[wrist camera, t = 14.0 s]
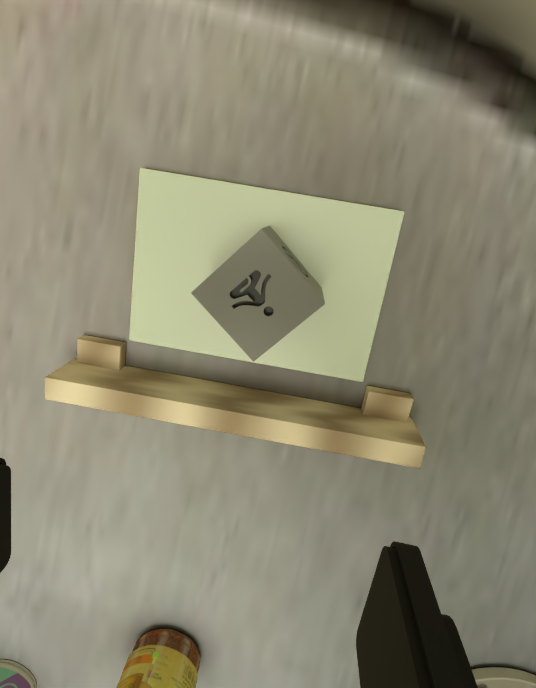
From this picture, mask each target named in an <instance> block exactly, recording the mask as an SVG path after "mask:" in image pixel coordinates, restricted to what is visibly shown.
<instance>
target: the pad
mask: <svg viewBox="0 0 536 688" xmlns="http://www.w3.org/2000/svg"><path fill="white" fill-rule="evenodd" d="M403 216H404V211H398V210H392V209H386V208H380V207H374V206H368V205H362V204H356V203H350V202H344V201H338V200H332V199H326V198H320V197H314V196H308V195H302V194H296V193H290V192H284V191H278V190H272V189H265V188H259V187H253V186H247V185H241V184H235V183H229V182H223V181H217V180H211V179H205V178H199V177H193V176H187V175H181V174H175V173H169V172H163V171H157V170H151V169H145V168H140V174H139V190H138V206H137V222H136V239H135V255H134V271H133V287H132V304H131V320H130V336H129V340H131V341H137V342H142V343H148V344H153V345H159V346H165V347H170V348H176V349H181V350H187V351H192V352H198V353H204V354H209V355H215V356H220V357H226V358H231V359H237V360H243V361H248V362H253V361H252V360H251V359H250V357H249V356H248V355H247V354H246V353H245V352H244V351H243V350H242V349H241V348H240V346H239V345H238V344H237V343H236V342H235V341H234V340H233V339H232V338H231V337H230V335H229V334H228V333H227V332H226V331H225V330H224V329H223V328H222V327H221V326H220V324H219V323H218V322H217V321H216V320H215V319H214V318H213V317H212V316H211V315H210V313H209V312H208V311H207V310H206V309H205V308H204V307H203V306H202V305H201V303H200V302H199V301H198V300H197V299H196V298H195V297H194V296H193V295H192V294H191V292H192V291H193V290H195V289H196V288H197V287H198V286H199V285H200V284H201V283H202V282H203V281H204V280H205V279H207V278H208V277H209V276H210V275H211V274H212V273H213V272H214V271H215V270H216V269H218V268H219V267H220V266H221V265H222V264H223V263H224V262H225V261H226V260H227V259H229V258H230V257H231V256H232V255H233V254H234V253H235V252H236V251H237V250H238V249H240V248H241V247H242V246H243V245H244V244H245V243H246V242H247V241H248V240H249V239H251V238H252V237H253V236H254V235H255V234H256V233H257V232H258V231H259V230H260V229H262V228H264V227H267V226H269V225H270V226H271V228H272V229H273V230H274V231H275V232H276V234H277V235H278V236H279V237H280V238H281V240H282V241H283V242H284V243H285V244H286V245H287V247H288V248H289V249H290V250H291V251H292V253H293V254H294V255H295V256H296V257H297V259H298V260H299V261H300V262H301V263H302V265H303V266H304V267H305V268H306V269H307V271H308V272H309V273H310V274H311V275H312V277H313V278H314V279H315V280H316V281H317V282H318V284H319V285H320V286H321V287H322V291H323V296H324V301H325V304H324V305H323V306H322V307H321V308H319V309H318V310H317V311H316V312H314V313H313V314H312V315H311V316H310V317H308V318H307V319H306V320H305V321H303V322H302V323H301V324H300V325H298V326H297V327H296V328H295V329H293V330H292V331H291V332H290V333H289V334H287V335H286V336H285V337H284V338H282V339H281V340H280V341H279V342H277V343H276V344H275V345H274V346H272V347H271V348H270V349H269V350H267V351H266V352H265V353H264V354H263V355H261V356H260V357H259V358H258V359H256V360H255V361H254V363H259V364H265V365H270V366H276V367H282V368H287V369H293V370H298V371H304V372H309V373H315V374H321V375H326V376H332V377H337V378H343V379H349V380H354V381H360V382H363V379H364V375H365V371H366V367H367V363H368V359H369V355H370V351H371V347H372V342H373V338H374V334H375V330H376V326H377V322H378V318H379V314H380V310H381V306H382V302H383V298H384V294H385V290H386V285H387V281H388V277H389V273H390V269H391V265H392V261H393V257H394V253H395V249H396V245H397V241H398V237H399V233H400V228H401V224H402V220H403Z"/></svg>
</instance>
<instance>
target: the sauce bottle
mask: <svg viewBox="0 0 536 688" xmlns="http://www.w3.org/2000/svg"><path fill="white" fill-rule="evenodd" d="M199 663H200V656H199V653H198V648H197V647H196V644H194V642H193V641H192V639H190V638H188V637H187V636H185V635H184V634H182V633H179V632H178V631H175V630H172V629H156V630H153V631H149V632H147V633H146V634H144V635H142V636H141V638H140V639H139V640H138V641H137V643H136V645H135V647H134V649H133V652H132V653H131V655H130V656H129V658H128V660H127V663H126V665H125V668H124V670H123V673H122V675H121V678H120V680H119V683H118V685H117V688H196V683H197V672H198V670H199Z"/></svg>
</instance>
